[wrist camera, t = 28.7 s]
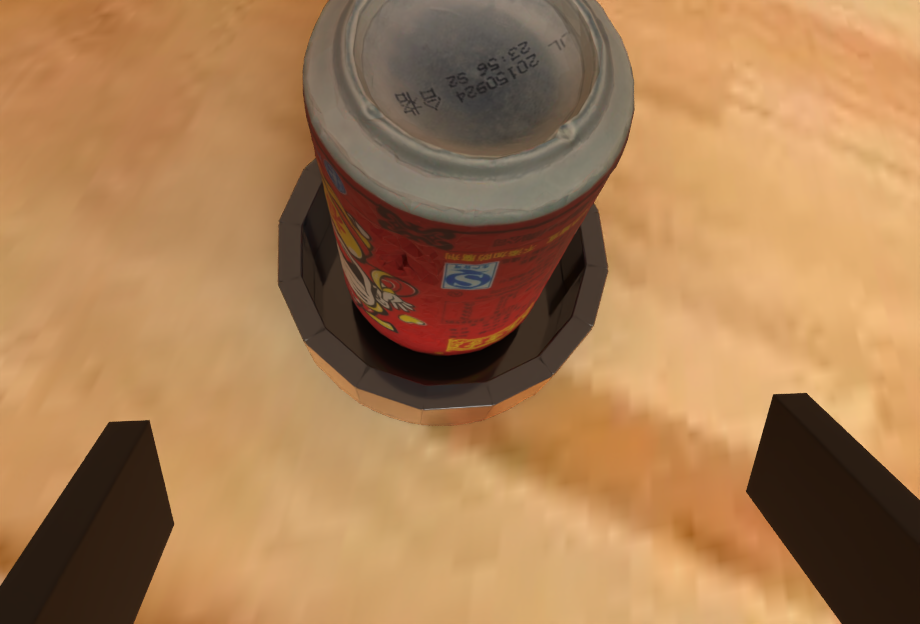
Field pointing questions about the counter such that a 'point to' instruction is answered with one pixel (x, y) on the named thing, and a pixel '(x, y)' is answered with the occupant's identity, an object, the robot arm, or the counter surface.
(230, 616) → the counter surface
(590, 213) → the holder
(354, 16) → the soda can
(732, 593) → the counter surface
